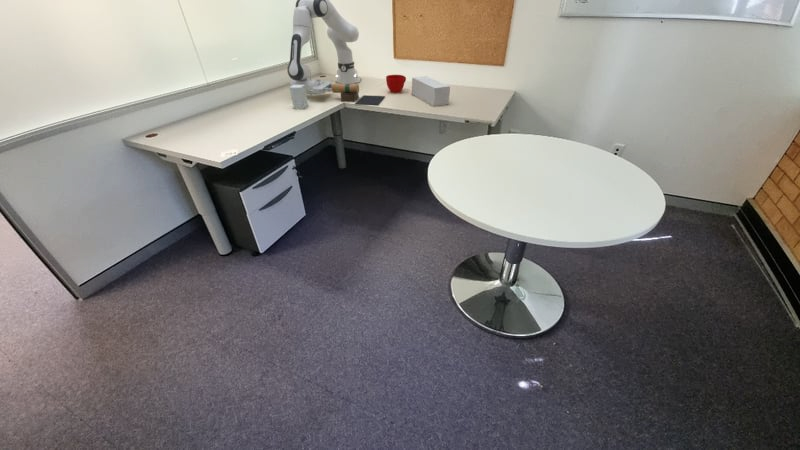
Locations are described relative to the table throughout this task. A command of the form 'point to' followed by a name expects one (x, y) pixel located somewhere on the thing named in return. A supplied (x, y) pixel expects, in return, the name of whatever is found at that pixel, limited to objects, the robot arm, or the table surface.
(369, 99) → the mat
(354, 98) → the cradle
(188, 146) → the table surface
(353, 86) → the paper roll
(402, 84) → the ceramic cup
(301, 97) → the white packaging box
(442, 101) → the long light grey block
